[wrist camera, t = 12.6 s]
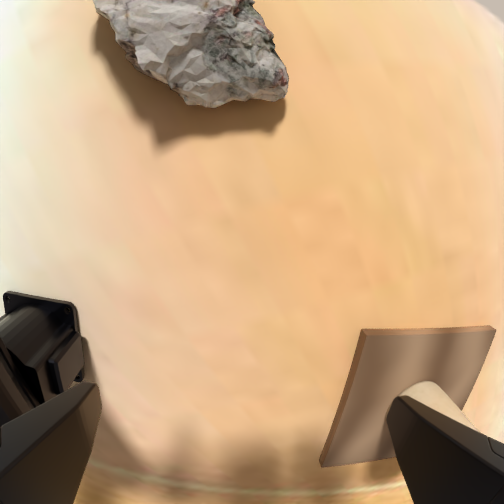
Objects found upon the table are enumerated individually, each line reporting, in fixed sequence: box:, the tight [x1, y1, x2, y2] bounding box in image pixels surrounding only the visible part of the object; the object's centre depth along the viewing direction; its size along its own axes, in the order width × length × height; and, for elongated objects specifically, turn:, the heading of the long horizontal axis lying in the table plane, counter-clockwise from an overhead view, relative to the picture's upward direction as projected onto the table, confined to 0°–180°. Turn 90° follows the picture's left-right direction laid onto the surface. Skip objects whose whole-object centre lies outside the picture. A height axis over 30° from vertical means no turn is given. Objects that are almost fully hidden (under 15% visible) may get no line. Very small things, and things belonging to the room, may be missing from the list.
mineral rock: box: [93, 0, 289, 108], centre depth 14 cm, size 15×8×4 cm, turn 32°
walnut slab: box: [319, 326, 496, 467], centre depth 23 cm, size 14×14×1 cm
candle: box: [386, 381, 479, 432], centre depth 18 cm, size 6×6×10 cm
